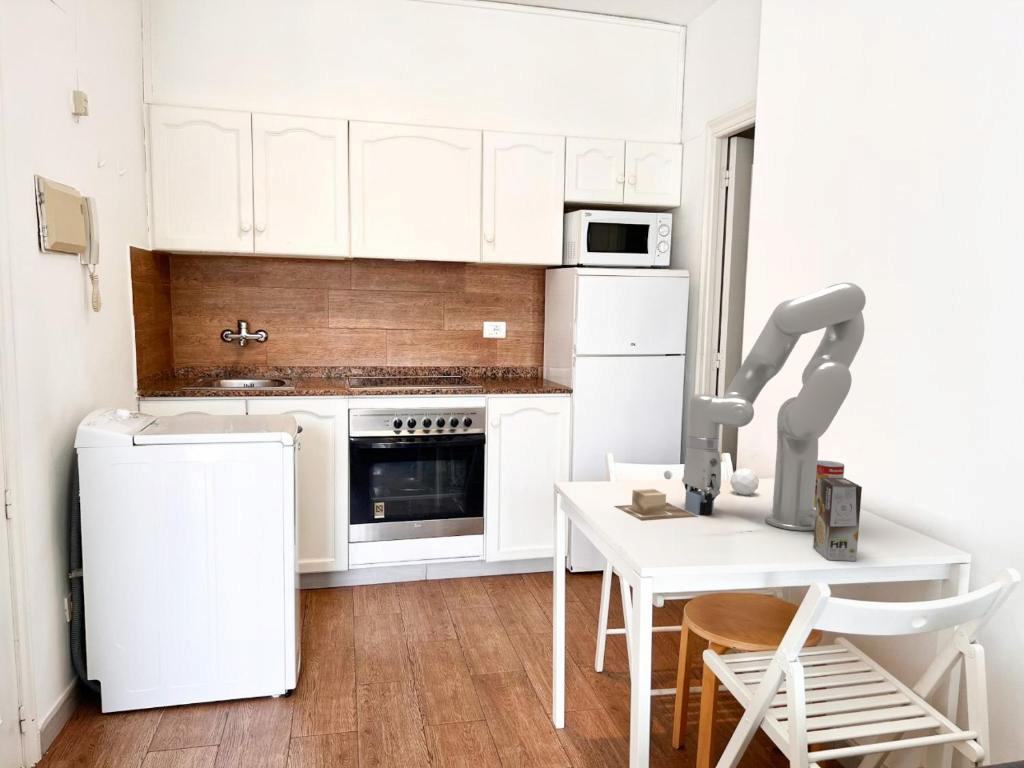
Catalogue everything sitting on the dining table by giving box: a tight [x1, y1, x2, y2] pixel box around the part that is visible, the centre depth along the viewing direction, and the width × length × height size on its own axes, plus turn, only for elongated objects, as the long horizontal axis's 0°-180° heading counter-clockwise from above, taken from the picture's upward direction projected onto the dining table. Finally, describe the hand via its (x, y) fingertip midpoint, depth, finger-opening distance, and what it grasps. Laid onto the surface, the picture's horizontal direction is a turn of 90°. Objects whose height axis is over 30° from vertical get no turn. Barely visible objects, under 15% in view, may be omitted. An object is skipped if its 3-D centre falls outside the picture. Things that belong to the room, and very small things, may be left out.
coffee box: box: [812, 477, 863, 562], centre depth 162 cm, size 9×6×16 cm
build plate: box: [613, 502, 699, 522], centre depth 189 cm, size 14×16×1 cm
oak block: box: [631, 488, 667, 515], centre depth 188 cm, size 6×6×5 cm
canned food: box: [814, 459, 845, 508], centre depth 206 cm, size 8×8×12 cm
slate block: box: [684, 490, 715, 516], centre depth 190 cm, size 5×5×6 cm
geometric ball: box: [730, 467, 760, 496], centre depth 217 cm, size 8×8×8 cm
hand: (698, 513), depth 190 cm, fingers closed on slate block, 5 cm apart
